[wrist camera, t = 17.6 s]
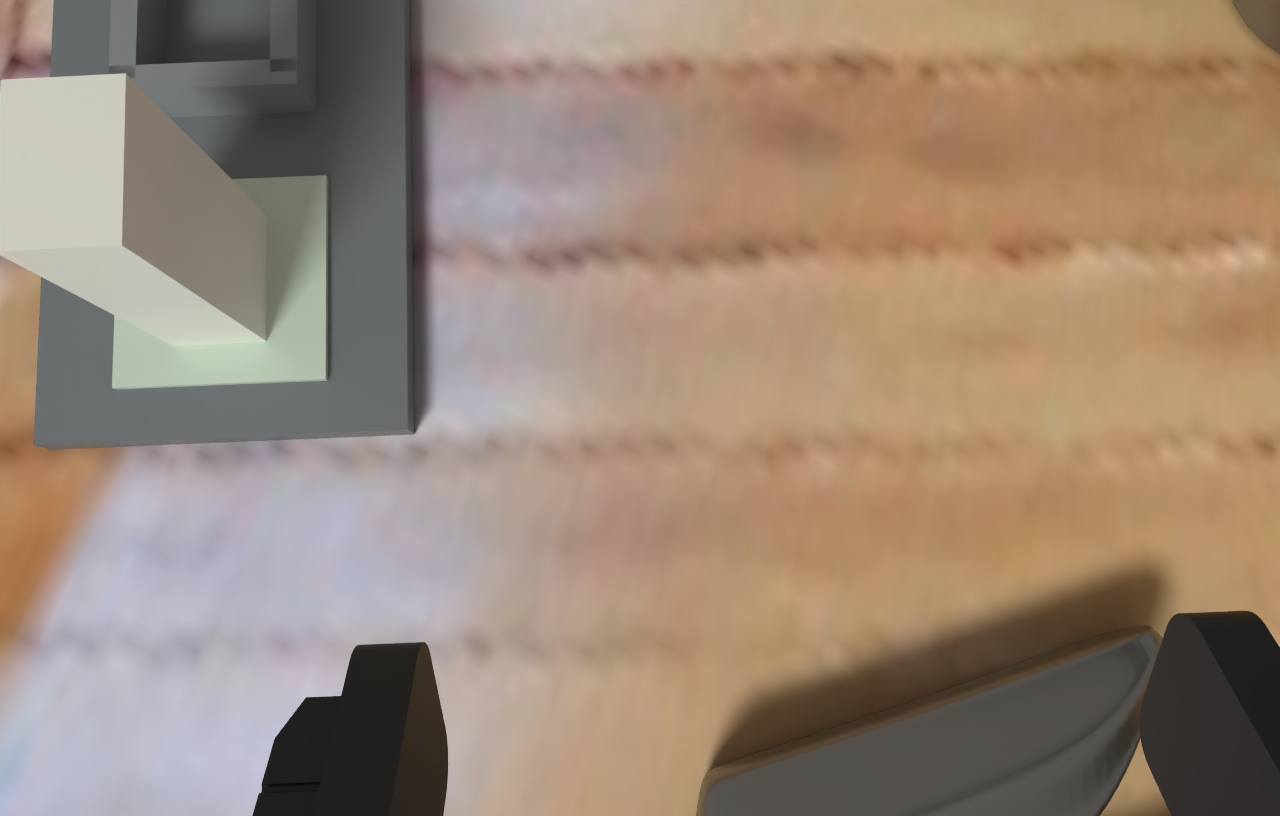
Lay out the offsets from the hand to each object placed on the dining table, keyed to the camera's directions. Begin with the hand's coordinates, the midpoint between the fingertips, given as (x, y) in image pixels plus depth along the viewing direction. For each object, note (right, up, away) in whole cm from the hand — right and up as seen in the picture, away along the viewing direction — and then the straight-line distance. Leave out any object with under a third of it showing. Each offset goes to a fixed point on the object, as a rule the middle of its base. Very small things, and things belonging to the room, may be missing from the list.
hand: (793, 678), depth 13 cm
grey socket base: (-18, +13, +33) cm, 40 cm away
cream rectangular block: (-18, +8, +31) cm, 36 cm away
